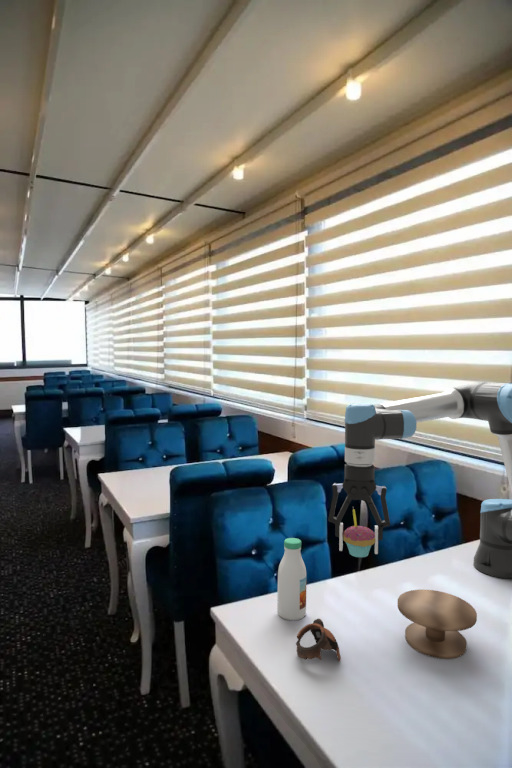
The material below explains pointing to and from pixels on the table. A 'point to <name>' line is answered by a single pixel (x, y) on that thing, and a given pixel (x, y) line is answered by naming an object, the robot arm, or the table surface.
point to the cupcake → (358, 539)
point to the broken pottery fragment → (317, 641)
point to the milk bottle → (292, 582)
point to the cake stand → (436, 622)
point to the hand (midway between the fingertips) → (358, 550)
